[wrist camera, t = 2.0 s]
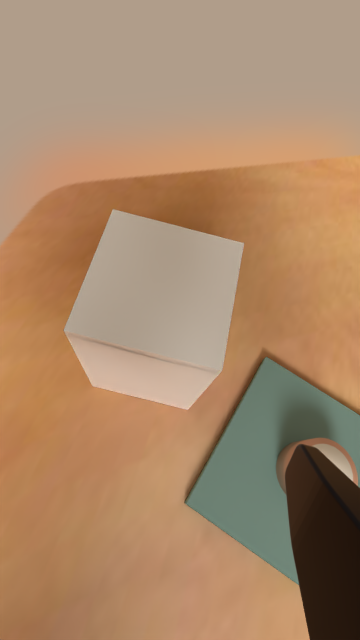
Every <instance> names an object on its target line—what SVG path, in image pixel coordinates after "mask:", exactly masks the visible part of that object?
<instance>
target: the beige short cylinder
mask: <svg viewBox="0 0 360 640" xmlns="http://www.w3.org/2000/svg"><path fill="white" fill-rule="evenodd" d="M299 444H305V445H309V446H313V447H316V448H317V449H319V450H320V451H321V452H322V453H323V454H324V455H325V456H326V457H327V458H328V459H329V460H330V461H331V462H333V463H334V464H335V465H336V466H337V467H338V468H339V469H340V470H341V471H342V472H343V473H344V474H345V475H346V476H348V477H349V478H350V479H351V480H352V481H353V482H354V483H355V484H356V485H357V486H358V475H357V470H356V467H355V464H354V462H353V460H352V458H351V456H350V455H349V454H348V452H347V451H346V450H345V449H344V448H343V447H342V446H341V445H339V444H338V443H336V442H335V441H333V440H330V439H326V438H313V439H308V440H302V441H296V442H292V443H290V444H288V445H287V446H285V447H284V448H283V449H282V451H281V452H280V454H279V456H278V459H277V463H276V474H277V479H278V482H279V484H280V486H281V488H282V490H283V491H284V493H285V494H286V487H285V471H286V468H287V465H288V463H289V461H290V459H291V457H292V455H293V452H294V450H295V448H296V447H297V445H299Z"/></svg>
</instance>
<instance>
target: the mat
mask: <svg viewBox="0 0 360 640" xmlns="http://www.w3.org/2000/svg"><path fill="white" fill-rule="evenodd" d="M313 438H326V439H330V440H333V441H335V442H336V443H338V444H339V445H341V446H342V447H343V448H344V449H345V450H346V451H347V452H348V454H349V455H350V456H351V458H352V460H353V462H354V464H355V467H356V470H357V475H358V487H359V488H360V415H358V414H357V413H355V412H354V411H352V410H350V409H349V408H347V407H346V406H344V405H343V404H341V403H339V402H338V401H336V400H335V399H333V398H331V397H330V396H328V395H327V394H325V393H323V392H322V391H320V390H319V389H317V388H315V387H314V386H312V385H311V384H309V383H308V382H306V381H304V380H303V379H301V378H300V377H298V376H296V375H295V374H293V373H292V372H290V371H288V370H287V369H285V368H284V367H282V366H280V365H279V364H277V363H276V362H274V361H272V360H271V359H269V358H268V357H265V358H264V359H263V361H262V363H261V364H260V366H259V368H258V370H257V372H256V373H255V375H254V377H253V379H252V381H251V383H250V384H249V386H248V388H247V390H246V392H245V394H244V395H243V397H242V399H241V401H240V403H239V404H238V406H237V408H236V410H235V412H234V414H233V415H232V417H231V419H230V421H229V423H228V425H227V426H226V428H225V430H224V432H223V434H222V435H221V437H220V439H219V441H218V443H217V445H216V446H215V448H214V450H213V452H212V454H211V456H210V457H209V459H208V461H207V463H206V465H205V466H204V468H203V470H202V472H201V474H200V476H199V477H198V479H197V481H196V483H195V485H194V487H193V488H192V490H191V492H190V494H189V496H188V497H187V499H186V501H185V504H187V505H188V506H189V507H191V508H192V509H194V510H195V511H196V512H198V513H199V514H201V515H202V516H203V517H205V518H206V519H208V520H209V521H210V522H212V523H213V524H215V525H216V526H217V527H219V528H220V529H221V530H223V531H224V532H226V533H227V534H228V535H230V536H231V537H233V538H234V539H235V540H237V541H238V542H240V543H241V544H242V545H244V546H245V547H247V548H248V549H249V550H251V551H252V552H253V553H255V554H256V555H258V556H259V557H260V558H262V559H263V560H265V561H266V562H267V563H269V564H270V565H272V566H273V567H274V568H276V569H277V570H279V571H280V572H281V573H283V574H284V575H285V576H287V577H288V578H290V579H291V580H292V581H294V582H295V583H297V584H298V585H299V582H298V576H297V571H296V566H295V561H294V556H293V551H292V545H291V538H290V529H289V518H288V508H287V497H286V494H285V493H284V491H283V490H282V488H281V486H280V484H279V482H278V479H277V474H276V463H277V459H278V456H279V454H280V452H281V451H282V449H283V448H284V447H285V446H287V445H288V444H290V443H292V442H296V441H302V440H308V439H313Z"/></svg>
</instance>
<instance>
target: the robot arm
mask: <svg viewBox="0 0 360 640" xmlns="http://www.w3.org/2000/svg"><path fill="white" fill-rule="evenodd" d="M285 487H286V497H287V508H288V518H289V529H290V538H291V545H292V551H293V556H294V561H295V566H296V571H297V576H298V582H299V587H300V592H301V597H302V602H303V607H304V612H305V617H306V622H307V627H308V632H309V637H310V640H360V488H359V487H358V486H357V485H356V484H355V483H354V482H353V481H352V480H351V479H350V478H349V477H348V476H346V475H345V474H344V473H343V472H342V471H341V470H340V469H339V468H338V467H337V466H336V465H335V464H334V463H333V462H331V461H330V460H329V459H328V458H327V457H326V456H325V455H324V454H323V453H322V452H321V451H320V450H319V449H317V448H316V447H313V446H309V445H305V444H299V445H297V447H296V448H295V450H294V452H293V455H292V457H291V459H290V461H289V463H288V465H287V468H286V471H285Z"/></svg>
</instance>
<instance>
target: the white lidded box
mask: <svg viewBox="0 0 360 640" xmlns="http://www.w3.org/2000/svg"><path fill="white" fill-rule="evenodd" d="M243 247H244V243H242V242H238V241H234V240H230V239H226V238H222V237H219V236H215V235H211V234H207V233H203V232H199V231H195V230H192V229H188V228H184V227H180V226H176V225H172V224H168V223H165V222H161V221H157V220H153V219H149V218H145V217H141V216H138V215H134V214H130V213H126V212H122V211H118V210H114V209H113V210H112V213H111V215H110V218H109V220H108V222H107V225H106V227H105V230H104V232H103V235H102V237H101V240H100V242H99V245H98V247H97V250H96V252H95V254H94V257H93V259H92V262H91V264H90V267H89V269H88V272H87V274H86V277H85V279H84V281H83V284H82V286H81V289H80V291H79V294H78V296H77V299H76V301H75V304H74V306H73V308H72V311H71V313H70V316H69V318H68V321H67V323H66V326H65V328H64V332H65V334H66V336H67V338H68V340H69V342H70V344H71V346H72V348H73V350H74V352H75V353H76V355H77V357H78V359H79V361H80V363H81V365H82V367H83V369H84V371H85V373H86V375H87V377H88V378H89V380H90V382H91V384H92V386H94V387H98V388H102V389H106V390H110V391H114V392H118V393H122V394H126V395H130V396H134V397H138V398H142V399H146V400H150V401H154V402H158V403H162V404H166V405H170V406H174V407H178V408H182V409H186V410H188V409H189V408H190V407H191V406H192V405H193V403H194V402H195V401H196V400H197V399H198V398H199V397H200V395H201V394H202V393H203V392H204V391H205V390H206V389H207V387H208V386H209V385H210V384H211V383H212V382H213V381H214V379H215V378H216V377H217V376H218V375H219V374H220V373H221V371H222V369H223V363H224V358H225V352H226V346H227V340H228V334H229V328H230V323H231V317H232V311H233V305H234V299H235V294H236V288H237V282H238V276H239V270H240V264H241V259H242V253H243Z"/></svg>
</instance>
